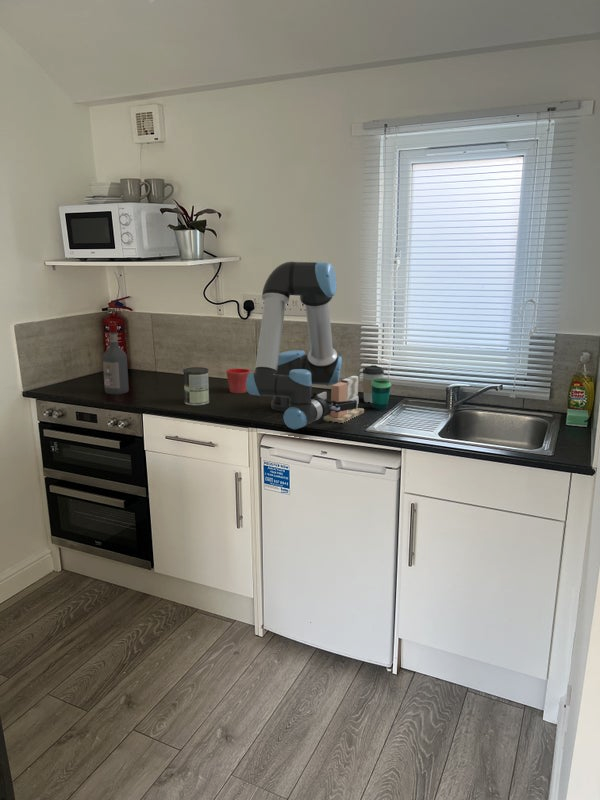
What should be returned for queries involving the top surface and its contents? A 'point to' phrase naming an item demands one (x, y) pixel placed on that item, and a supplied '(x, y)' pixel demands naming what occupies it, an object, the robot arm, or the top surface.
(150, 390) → the top surface
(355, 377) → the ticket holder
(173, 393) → the top surface
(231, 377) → the flower pot
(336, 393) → the salmon orange block
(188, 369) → the coffee can
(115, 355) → the liquor
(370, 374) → the coffee cup
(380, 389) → the cup
